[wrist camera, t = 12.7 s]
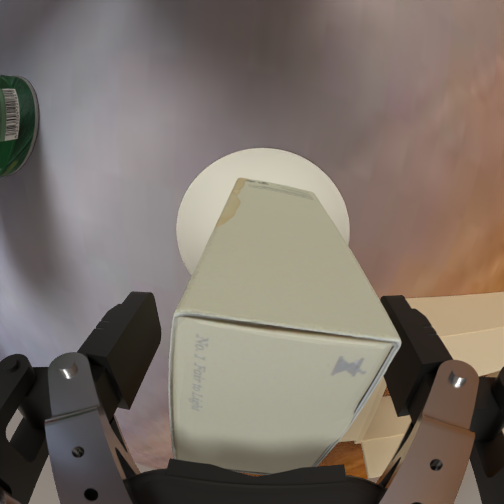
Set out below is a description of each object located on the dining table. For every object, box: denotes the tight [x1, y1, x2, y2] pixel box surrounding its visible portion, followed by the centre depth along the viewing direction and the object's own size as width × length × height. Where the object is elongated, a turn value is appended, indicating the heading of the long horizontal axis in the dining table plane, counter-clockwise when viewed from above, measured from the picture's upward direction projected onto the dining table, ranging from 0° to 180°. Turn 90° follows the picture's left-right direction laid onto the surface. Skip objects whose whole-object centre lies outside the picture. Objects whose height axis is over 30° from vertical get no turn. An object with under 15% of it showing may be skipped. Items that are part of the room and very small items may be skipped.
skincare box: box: [169, 178, 402, 475], centre depth 12 cm, size 6×4×12 cm
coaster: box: [176, 148, 350, 276], centre depth 17 cm, size 10×10×1 cm
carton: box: [339, 292, 504, 478], centre depth 17 cm, size 23×11×8 cm, turn 91°
